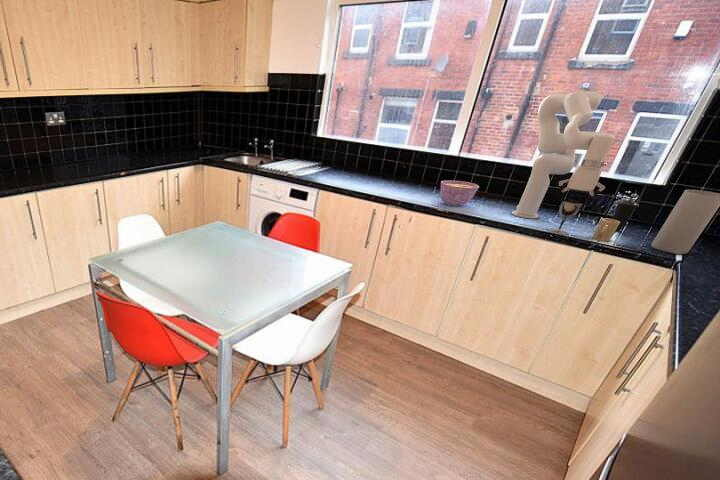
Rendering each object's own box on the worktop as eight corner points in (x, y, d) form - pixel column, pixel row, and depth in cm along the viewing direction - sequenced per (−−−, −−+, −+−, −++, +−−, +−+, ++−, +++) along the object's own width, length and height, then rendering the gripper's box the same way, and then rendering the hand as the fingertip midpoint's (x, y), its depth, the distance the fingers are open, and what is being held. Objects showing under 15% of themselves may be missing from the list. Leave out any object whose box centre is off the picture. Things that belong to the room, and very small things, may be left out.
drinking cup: (619, 229, 216) (641, 189, 206) (626, 233, 210) (650, 192, 199) (601, 227, 218) (623, 187, 208) (607, 231, 212) (630, 190, 201)
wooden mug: (593, 235, 206) (603, 217, 201) (611, 239, 201) (621, 221, 196) (587, 239, 200) (598, 221, 195) (606, 243, 195) (617, 224, 190)
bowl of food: (473, 203, 252) (480, 183, 246) (470, 210, 238) (478, 189, 232) (437, 198, 261) (443, 178, 255) (432, 204, 247) (438, 184, 240)
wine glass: (570, 235, 204) (586, 204, 196) (552, 234, 206) (567, 203, 198) (562, 230, 211) (577, 200, 203) (545, 229, 212) (559, 198, 204)
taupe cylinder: (694, 254, 187) (734, 196, 174) (673, 255, 185) (711, 197, 171) (663, 244, 197) (699, 189, 184) (643, 245, 195) (677, 189, 181)
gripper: (615, 165, 189) (596, 204, 198) (568, 160, 198) (551, 198, 207) (615, 167, 184) (595, 207, 193) (567, 162, 193) (550, 200, 202)
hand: (573, 202), depth 200 cm, fingers open, 9 cm apart
